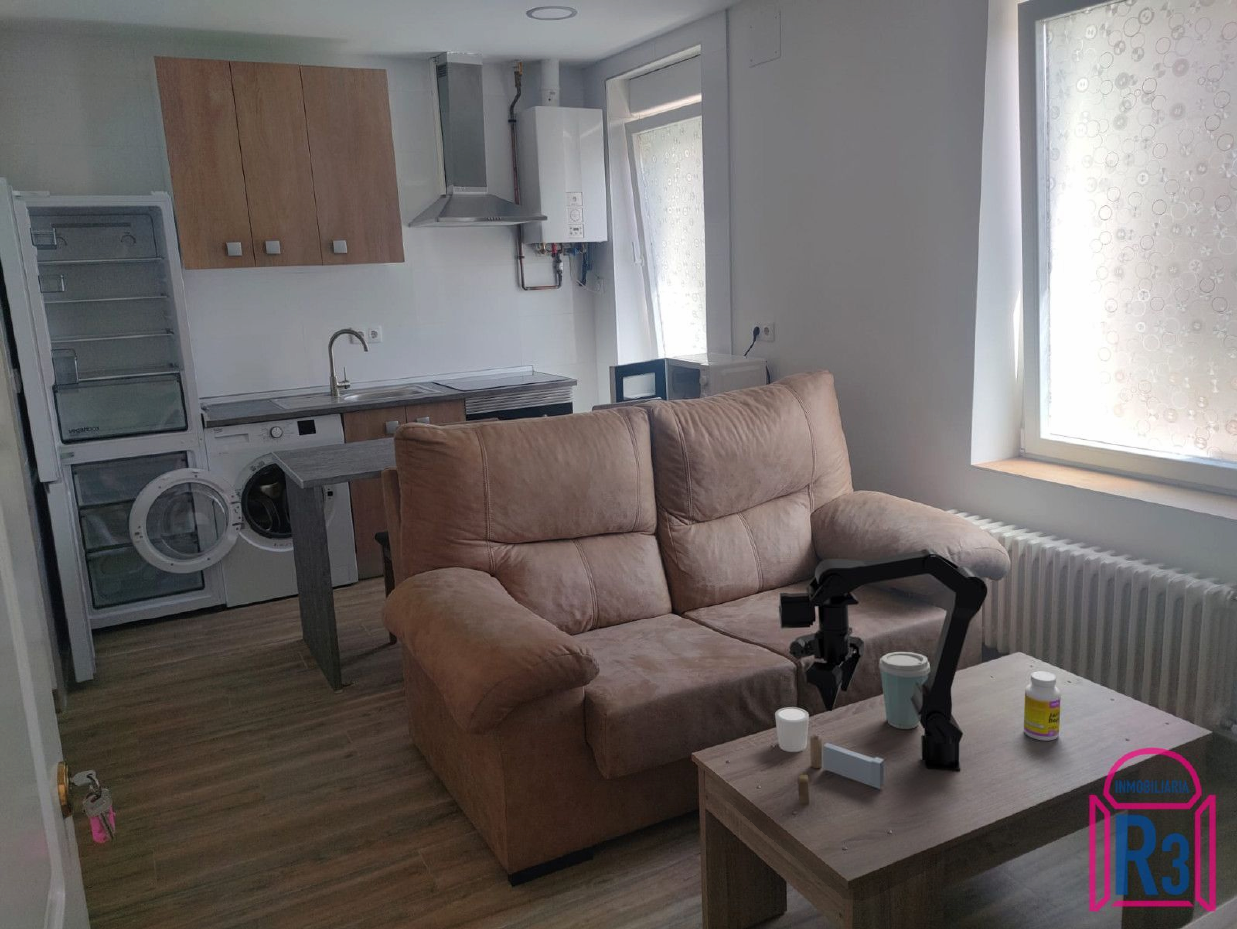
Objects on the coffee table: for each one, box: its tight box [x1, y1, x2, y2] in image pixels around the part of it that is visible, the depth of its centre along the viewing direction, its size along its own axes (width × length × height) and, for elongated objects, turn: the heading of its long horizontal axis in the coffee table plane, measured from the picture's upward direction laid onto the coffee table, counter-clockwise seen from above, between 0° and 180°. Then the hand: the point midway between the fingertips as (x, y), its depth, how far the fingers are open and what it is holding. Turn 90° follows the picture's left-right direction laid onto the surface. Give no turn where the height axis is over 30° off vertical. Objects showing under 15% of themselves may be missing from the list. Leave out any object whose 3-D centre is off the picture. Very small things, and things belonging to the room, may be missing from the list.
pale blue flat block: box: [809, 733, 885, 789], centre depth 178 cm, size 15×2×6 cm, turn 47°
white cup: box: [774, 706, 810, 753], centre depth 191 cm, size 7×7×7 cm
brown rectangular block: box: [797, 774, 810, 805], centre depth 170 cm, size 2×2×5 cm
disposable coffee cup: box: [878, 651, 931, 730], centre depth 197 cm, size 11×11×15 cm
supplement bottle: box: [1023, 670, 1062, 742], centre depth 189 cm, size 7×7×13 cm
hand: (836, 700), depth 182 cm, fingers open, 9 cm apart
